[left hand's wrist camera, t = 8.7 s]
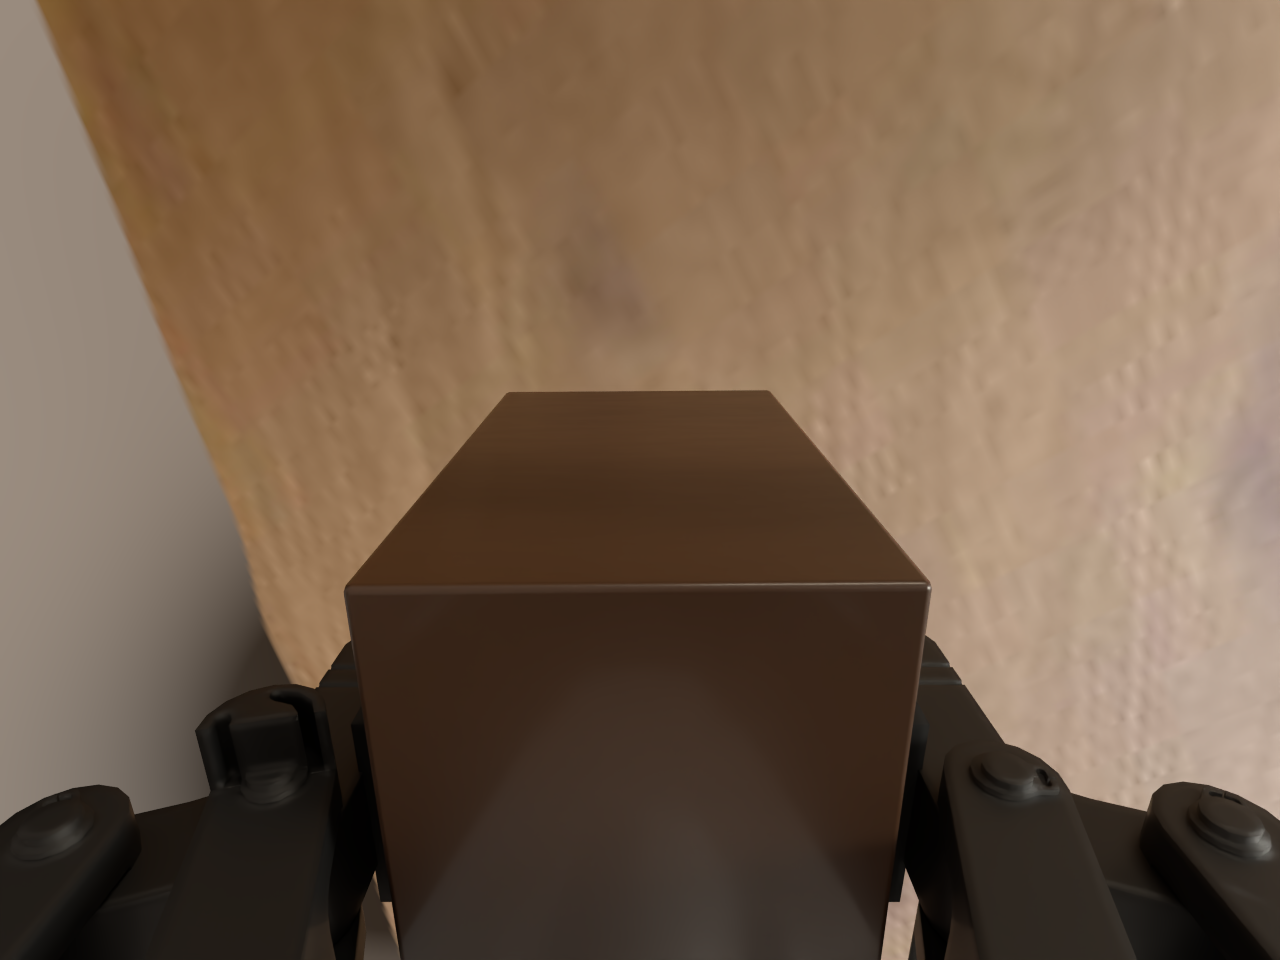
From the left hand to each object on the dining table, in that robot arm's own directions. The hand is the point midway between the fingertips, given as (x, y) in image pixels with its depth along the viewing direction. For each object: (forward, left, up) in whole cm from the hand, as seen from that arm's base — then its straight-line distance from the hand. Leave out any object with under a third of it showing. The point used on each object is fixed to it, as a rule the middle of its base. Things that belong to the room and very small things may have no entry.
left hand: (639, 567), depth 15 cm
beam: (+12, 0, 0) cm, 12 cm away
